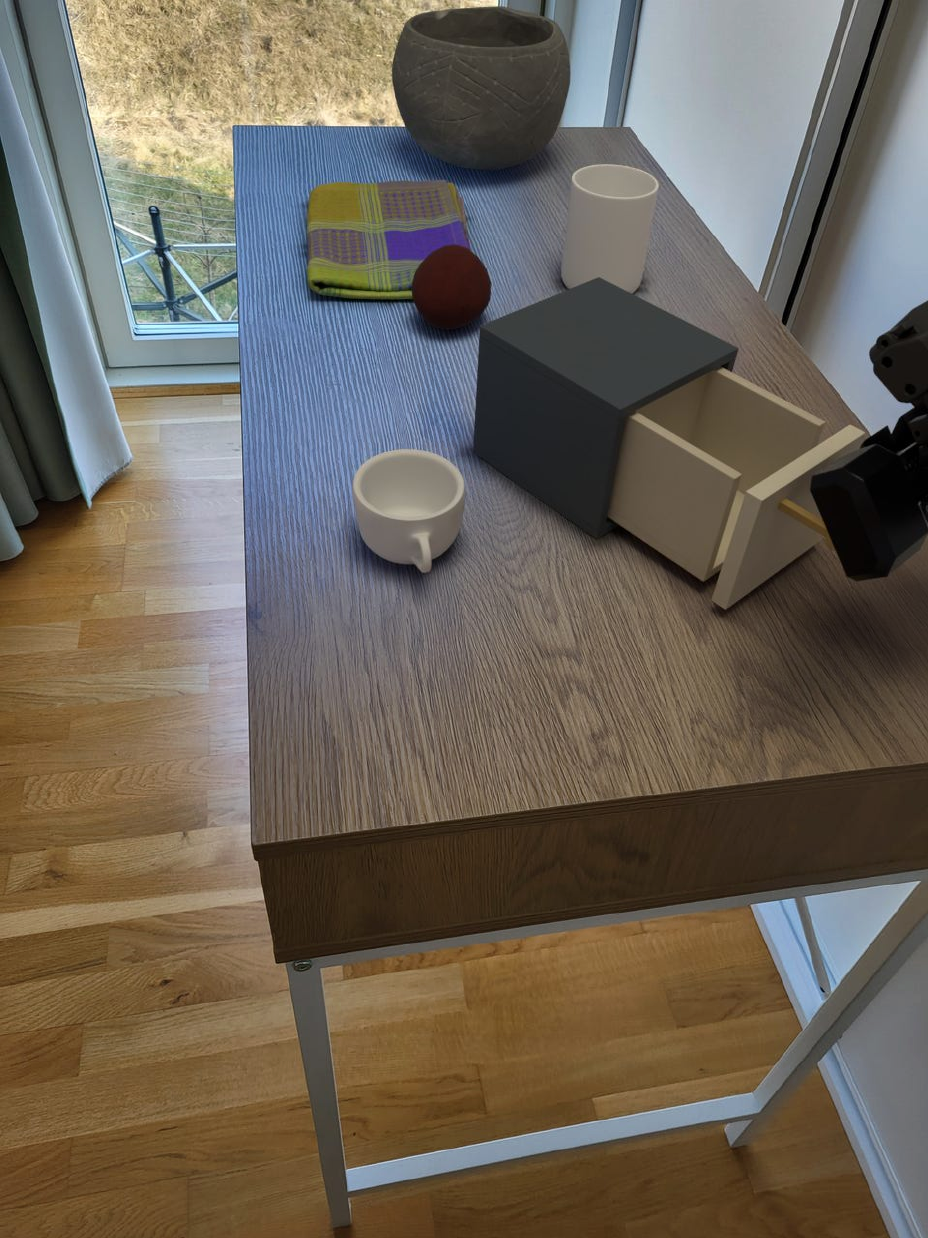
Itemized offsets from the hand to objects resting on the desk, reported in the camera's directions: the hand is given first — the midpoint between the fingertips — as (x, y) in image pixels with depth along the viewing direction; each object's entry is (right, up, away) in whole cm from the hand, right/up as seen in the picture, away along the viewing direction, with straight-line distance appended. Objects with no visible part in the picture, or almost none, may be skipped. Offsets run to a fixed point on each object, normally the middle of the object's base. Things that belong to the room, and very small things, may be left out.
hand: (815, 493), depth 60 cm
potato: (-24, +20, +30) cm, 43 cm away
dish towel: (-31, +32, +41) cm, 60 cm away
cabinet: (-13, +4, +15) cm, 20 cm away
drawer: (-3, -3, +8) cm, 9 cm away
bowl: (-21, +49, +59) cm, 80 cm away
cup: (-7, +27, +38) cm, 48 cm away
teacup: (-26, -3, +7) cm, 27 cm away
